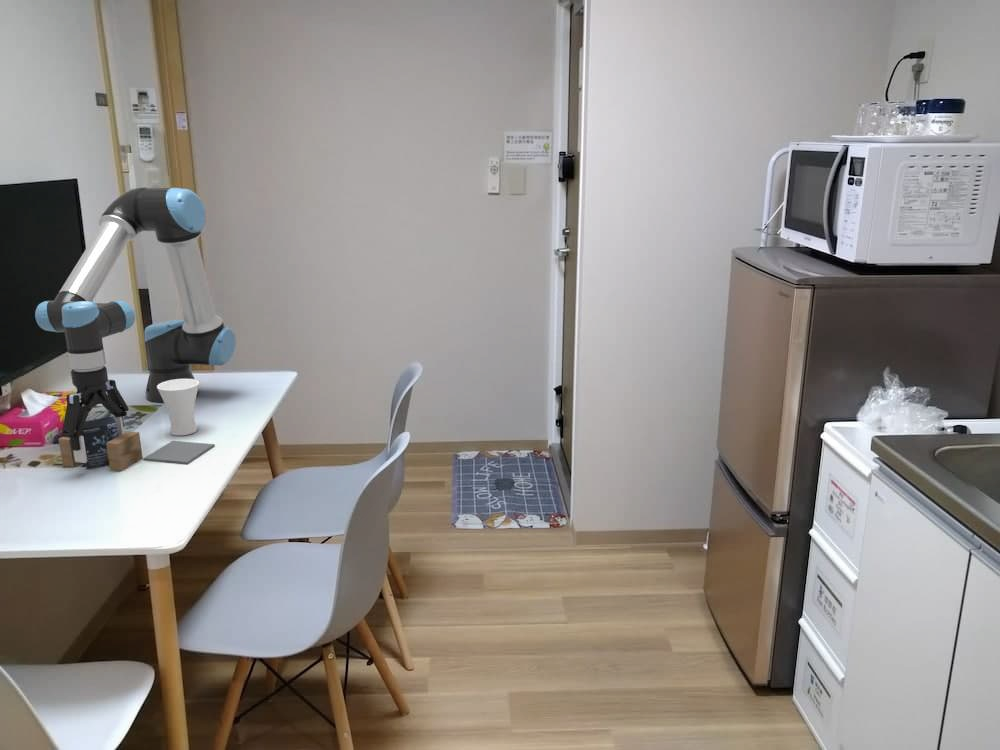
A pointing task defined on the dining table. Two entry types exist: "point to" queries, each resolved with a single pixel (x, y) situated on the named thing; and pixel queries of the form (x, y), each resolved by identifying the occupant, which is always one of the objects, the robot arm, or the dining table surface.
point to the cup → (180, 404)
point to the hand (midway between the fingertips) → (101, 451)
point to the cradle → (109, 451)
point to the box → (98, 440)
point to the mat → (179, 452)
